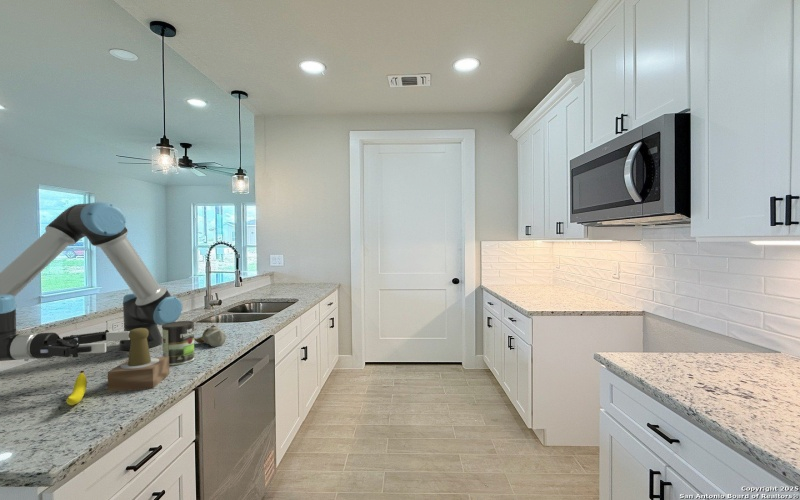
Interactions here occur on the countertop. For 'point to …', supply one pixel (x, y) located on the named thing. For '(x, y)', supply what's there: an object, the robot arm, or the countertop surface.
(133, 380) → the walnut plinth
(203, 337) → the ceramic sculpture
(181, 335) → the coffee can
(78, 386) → the banana
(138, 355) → the cork
